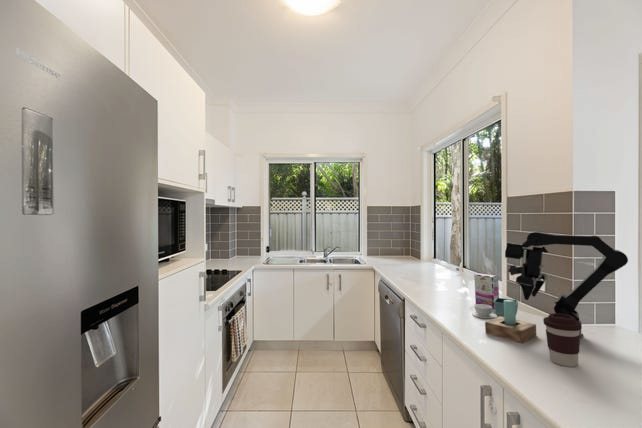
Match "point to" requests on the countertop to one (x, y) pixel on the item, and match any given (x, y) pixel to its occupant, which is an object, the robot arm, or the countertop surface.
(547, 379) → the countertop surface
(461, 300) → the countertop surface
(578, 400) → the countertop surface
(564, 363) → the coffee cup
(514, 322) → the dowel
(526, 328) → the brown wooden box
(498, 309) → the flower pot
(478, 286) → the candy bar box
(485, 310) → the teacup
